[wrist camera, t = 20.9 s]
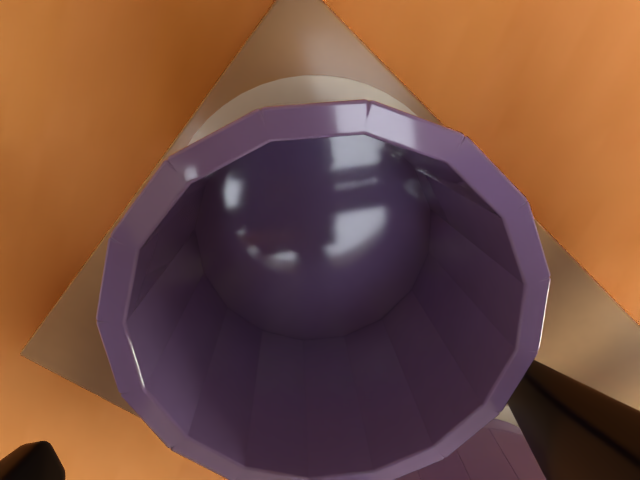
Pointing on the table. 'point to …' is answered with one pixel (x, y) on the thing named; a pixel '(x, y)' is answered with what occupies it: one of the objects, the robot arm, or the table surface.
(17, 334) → the table surface
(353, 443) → the dish
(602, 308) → the placemat
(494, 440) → the dish
